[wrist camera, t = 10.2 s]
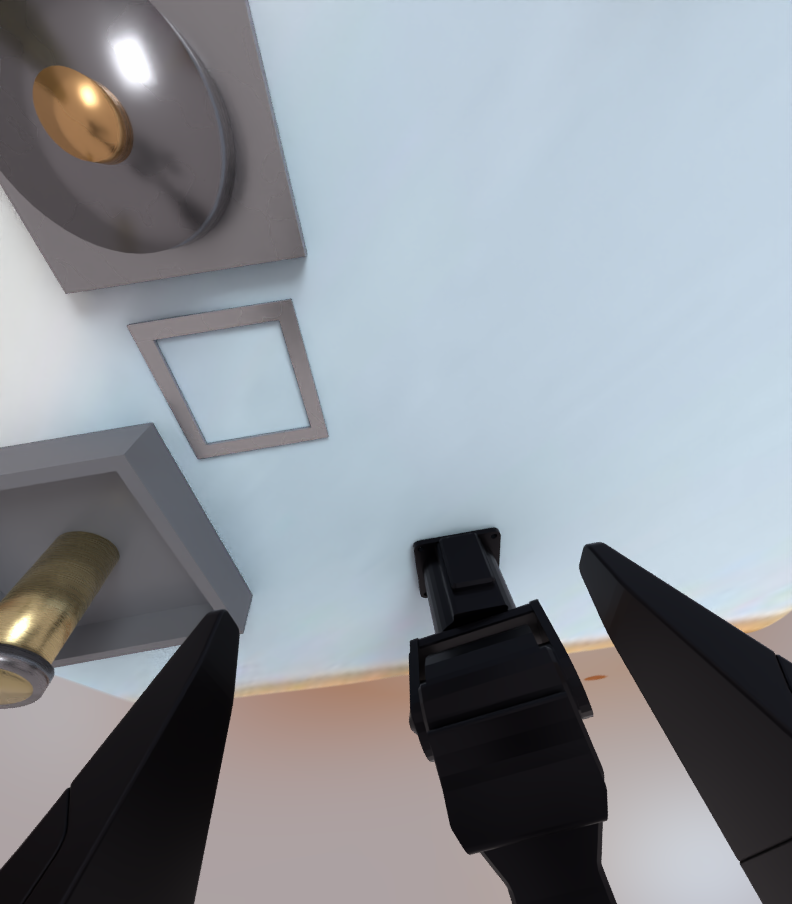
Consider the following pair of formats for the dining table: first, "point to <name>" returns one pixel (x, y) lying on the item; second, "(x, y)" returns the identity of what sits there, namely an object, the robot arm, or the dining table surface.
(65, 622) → the gold cylinder with rim
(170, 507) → the tray
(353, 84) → the dining table surface
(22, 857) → the robot arm
